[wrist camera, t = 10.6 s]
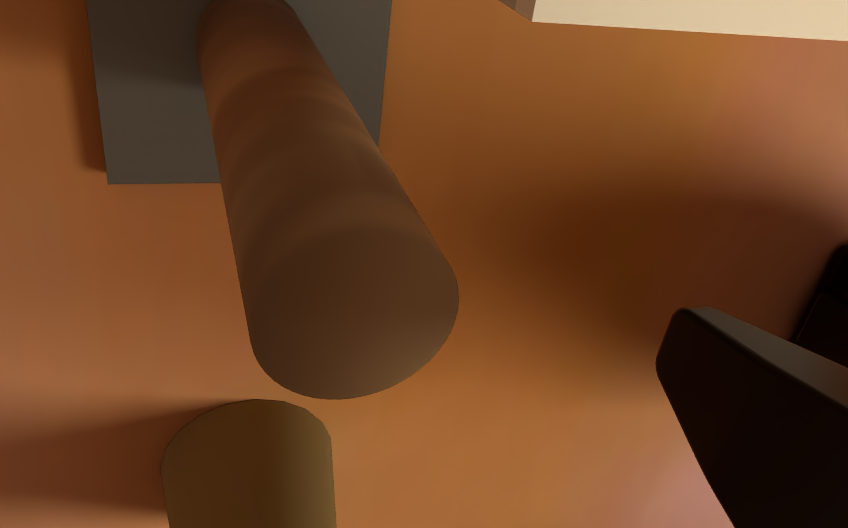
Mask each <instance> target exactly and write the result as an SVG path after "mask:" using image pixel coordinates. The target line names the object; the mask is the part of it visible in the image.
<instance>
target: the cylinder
mask: <svg viewBox="0 0 848 528" xmlns="http://www.w3.org/2000/svg"><path fill="white" fill-rule="evenodd" d="M195 44H196V51H197V56H198V62H199V67H200V72H201V78H202V83H203V89H204V94H205V99H206V105H207V110H208V115H209V121H210V126H211V132H212V137H213V142H214V148H215V153H216V158H217V164H218V169H219V175H220V180H221V185H222V191H223V196H224V201H225V207H226V212H227V218H228V223H229V228H230V234H231V239H232V245H233V250H234V255H235V261H236V266H237V271H238V277H239V282H240V288H241V293H242V298H243V304H244V309H245V314H246V320H247V325H248V331H249V336H250V341H251V345H252V349H253V352H254V355H255V357H256V359H257V361H258V363H259V364H260V366H261V367H262V368H263V370H264V371H265V372H266V373H267V374H268V375H269V376H270V377H271V378H272V379H273V380H274V381H275V382H277V383H278V384H280V385H281V386H283V387H285V388H287V389H289V390H290V391H292V392H295V393H298V394H301V395H304V396H308V397H313V398H319V399H350V398H356V397H362V396H366V395H370V394H373V393H377V392H379V391H382V390H385V389H387V388H390V387H392V386H394V385H396V384H398V383H400V382H401V381H403V380H405V379H406V378H408V377H410V376H411V375H413V374H414V373H415V372H417V371H418V370H419V369H421V368H422V367H423V366H424V365H425V364H426V363H427V362H428V361H430V360H431V358H432V357H433V356H434V355H435V354H436V353H437V352H438V351H439V349H440V348H441V346H442V345H443V344H444V342H445V341H446V339H447V337H448V335H449V334H450V332H451V330H452V327H453V325H454V322H455V319H456V315H457V311H458V303H459V294H458V286H457V281H456V278H455V275H454V273H453V270H452V268H451V267H450V265H449V263H448V262H447V260H446V258H445V257H444V255H443V254H442V252H441V250H440V249H439V247H438V245H437V244H436V242H435V240H434V239H433V237H432V236H431V234H430V232H429V231H428V229H427V227H426V226H425V224H424V222H423V221H422V219H421V217H420V216H419V214H418V213H417V211H416V209H415V208H414V206H413V204H412V203H411V201H410V199H409V198H408V196H407V195H406V193H405V191H404V190H403V188H402V186H401V185H400V183H399V181H398V180H397V178H396V177H395V175H394V173H393V172H392V170H391V168H390V167H389V165H388V163H387V162H386V160H385V158H384V157H383V155H382V154H381V152H380V150H379V149H378V147H377V145H376V144H375V142H374V140H373V139H372V137H371V136H370V134H369V132H368V131H367V129H366V127H365V126H364V124H363V122H362V121H361V119H360V117H359V116H358V114H357V113H356V111H355V109H354V108H353V106H352V104H351V103H350V101H349V99H348V98H347V96H346V95H345V93H344V91H343V90H342V88H341V86H340V85H339V83H338V81H337V80H336V78H335V77H334V75H333V73H332V72H331V70H330V68H329V67H328V65H327V63H326V62H325V60H324V58H323V57H322V55H321V54H320V52H319V50H318V49H317V47H316V45H315V44H314V42H313V40H312V39H311V37H310V36H309V34H308V32H307V31H306V29H305V27H304V26H303V24H302V22H301V21H300V19H299V18H298V16H297V14H296V13H295V11H294V10H293V9H292V7H291V6H290V5H289V4H288V3H287V2H286V1H285V0H212V1H211V2H210V3H209V4H208V5H207V7H206V8H205V9H204V11H203V12H202V14H201V16H200V18H199V20H198V24H197V27H196V33H195Z"/></svg>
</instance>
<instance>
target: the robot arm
mask: <svg viewBox="0 0 848 528" xmlns="http://www.w3.org/2000/svg"><path fill="white" fill-rule="evenodd" d="M656 371H657V375H658V378H659V380H660V382H661V384H662V387H663V389H664V391H665V393H666V395H667V397H668V399H669V402H670V404H671V406H672V408H673V410H674V412H675V414H676V416H677V419H678V421H679V423H680V425H681V427H682V429H683V431H684V434H685V436H686V438H687V440H688V442H689V444H690V446H691V448H692V451H693V453H694V455H695V457H696V459H697V461H698V463H699V465H700V467H701V469H702V471H703V473H704V475H705V477H706V479H707V481H708V483H709V485H710V486H711V488H712V490H713V492H714V494H715V495H716V497H717V499H718V500H719V502H720V504H721V506H722V507H723V509H724V511H725V512H726V514H727V516H728V517H729V519H730V521H731V522H732V524H733V526H734V528H848V245H844V246H843V247H841V248H840V249H838V250H837V251H836V253H835V254H834V256H833V258H832V260H831V262H830V264H829V266H828V268H827V270H826V272H825V274H824V276H823V278H822V280H821V282H820V284H819V286H818V288H817V290H816V292H815V294H814V296H813V298H812V300H811V302H810V304H809V306H808V308H807V310H806V312H805V314H804V316H803V318H802V320H801V322H800V324H799V326H798V328H797V330H796V332H795V334H794V336H793V338H792V340H791V342H789V341H786V340H784V339H782V338H780V337H778V336H775V335H773V334H771V333H769V332H767V331H764V330H762V329H760V328H758V327H755V326H753V325H751V324H749V323H747V322H744V321H742V320H740V319H738V318H735V317H733V316H731V315H729V314H727V313H724V312H722V311H720V310H718V309H715V308H713V307H710V306H693V307H683V308H680V309H678V310H677V311H676V312H675V313H674V314H673V315H672V317H671V320H670V322H669V325H668V327H667V330H666V333H665V335H664V338H663V341H662V343H661V346H660V349H659V351H658V354H657V357H656Z"/></svg>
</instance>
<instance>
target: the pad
mask: <svg viewBox="0 0 848 528" xmlns="http://www.w3.org/2000/svg"><path fill="white" fill-rule="evenodd" d="M211 1H212V0H86V7H87V16H88V24H89V32H90V40H91V49H92V57H93V65H94V73H95V81H96V90H97V98H98V106H99V114H100V122H101V131H102V139H103V147H104V155H105V164H106V172H107V180H108V184H170V183H221V180H220V175H219V169H218V164H217V158H216V153H215V148H214V142H213V137H212V132H211V126H210V121H209V115H208V110H207V105H206V99H205V94H204V89H203V83H202V78H201V72H200V67H199V62H198V56H197V51H196V44H195V33H196V27H197V24H198V20H199V18H200V16H201V14H202V12H203V11H204V9H205V8H206V7H207V5H208V4H209V3H210V2H211ZM285 1H286V2H287V3H288V4H289V5H290V6H291V7H292V9H293V10H294V11H295V13H296V14H297V16H298V18H299V19H300V21H301V22H302V24H303V26H304V27H305V29H306V31H307V32H308V34H309V36H310V37H311V39H312V40H313V42H314V44H315V45H316V47H317V49H318V50H319V52H320V54H321V55H322V57H323V58H324V60H325V62H326V63H327V65H328V67H329V68H330V70H331V72H332V73H333V75H334V77H335V78H336V80H337V81H338V83H339V85H340V86H341V88H342V90H343V91H344V93H345V95H346V96H347V98H348V99H349V101H350V103H351V104H352V106H353V108H354V109H355V111H356V113H357V114H358V116H359V117H360V119H361V121H362V122H363V124H364V126H365V127H366V129H367V131H368V132H369V134H370V136H371V137H372V139H373V140H374V142H375V144H376V145H377V147H378V141H379V130H380V120H381V109H382V99H383V88H384V78H385V67H386V57H387V46H388V36H389V25H390V15H391V4H392V0H285Z"/></svg>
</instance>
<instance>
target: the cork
mask: <svg viewBox="0 0 848 528" xmlns="http://www.w3.org/2000/svg"><path fill="white" fill-rule="evenodd" d="M160 470H161V477H162V483H163V489H164V496H165V502H166V508H167V514H168V521H169V527H170V528H336V512H335V496H334V480H333V464H332V449H331V438H330V436H329V434H328V432H327V430H326V428H325V426H324V425H323V423H322V422H321V421H320V420H319V419H318V418H316V417H315V416H314V415H312V414H311V413H310V412H309V411H307V410H306V409H303V408H301V407H298V406H295V405H292V404H289V403H286V402H283V401H271V400H257V399H256V400H249V401H243V402H237V403H230V404H226V405H224V406H221V407H219V408H216V409H214V410H211V411H209V412H206V413H204V414H201V415H200V416H198V417H197V418H196V419H194V420H193V421H191V422H190V423H189V424H187V425H186V426H185V427H183V428H182V429H180V430H179V431H178V433H177V434H176V435H175V437H174V438H173V439H172V441H171V442H170V443H169V445H168V446H167V447H166V449H165V452H164V456H163V460H162V464H161V468H160Z"/></svg>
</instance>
